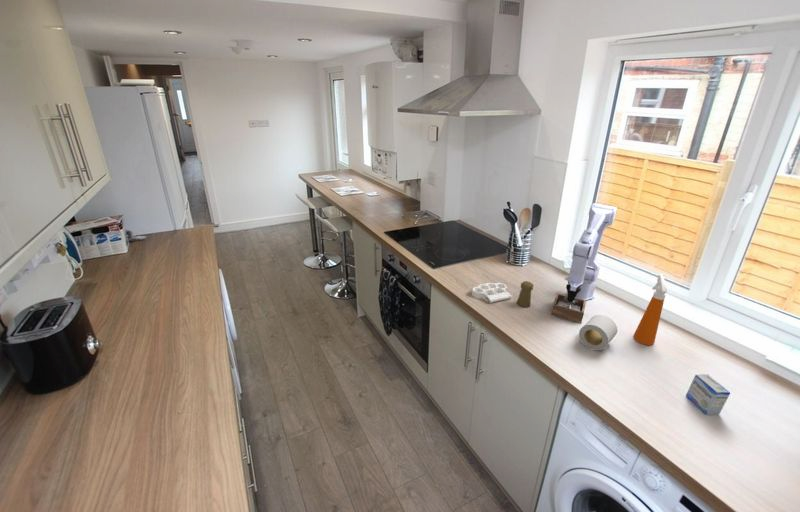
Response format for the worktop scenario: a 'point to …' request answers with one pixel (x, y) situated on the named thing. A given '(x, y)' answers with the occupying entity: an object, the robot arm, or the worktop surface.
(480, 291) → the knuckle duster
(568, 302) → the plunger
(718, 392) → the medicine box
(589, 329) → the toilet paper
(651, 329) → the spray bottle
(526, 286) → the brown tapered figure
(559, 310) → the frame
